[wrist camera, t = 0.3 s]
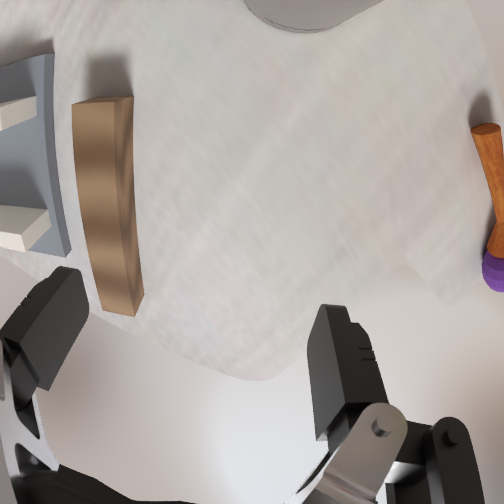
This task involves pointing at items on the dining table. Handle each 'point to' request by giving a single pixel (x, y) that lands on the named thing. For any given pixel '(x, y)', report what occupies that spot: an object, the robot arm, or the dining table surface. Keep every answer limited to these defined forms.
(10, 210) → the ridge stand
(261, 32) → the dining table surface
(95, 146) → the brown wooden bar
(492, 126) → the kendama
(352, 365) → the robot arm
